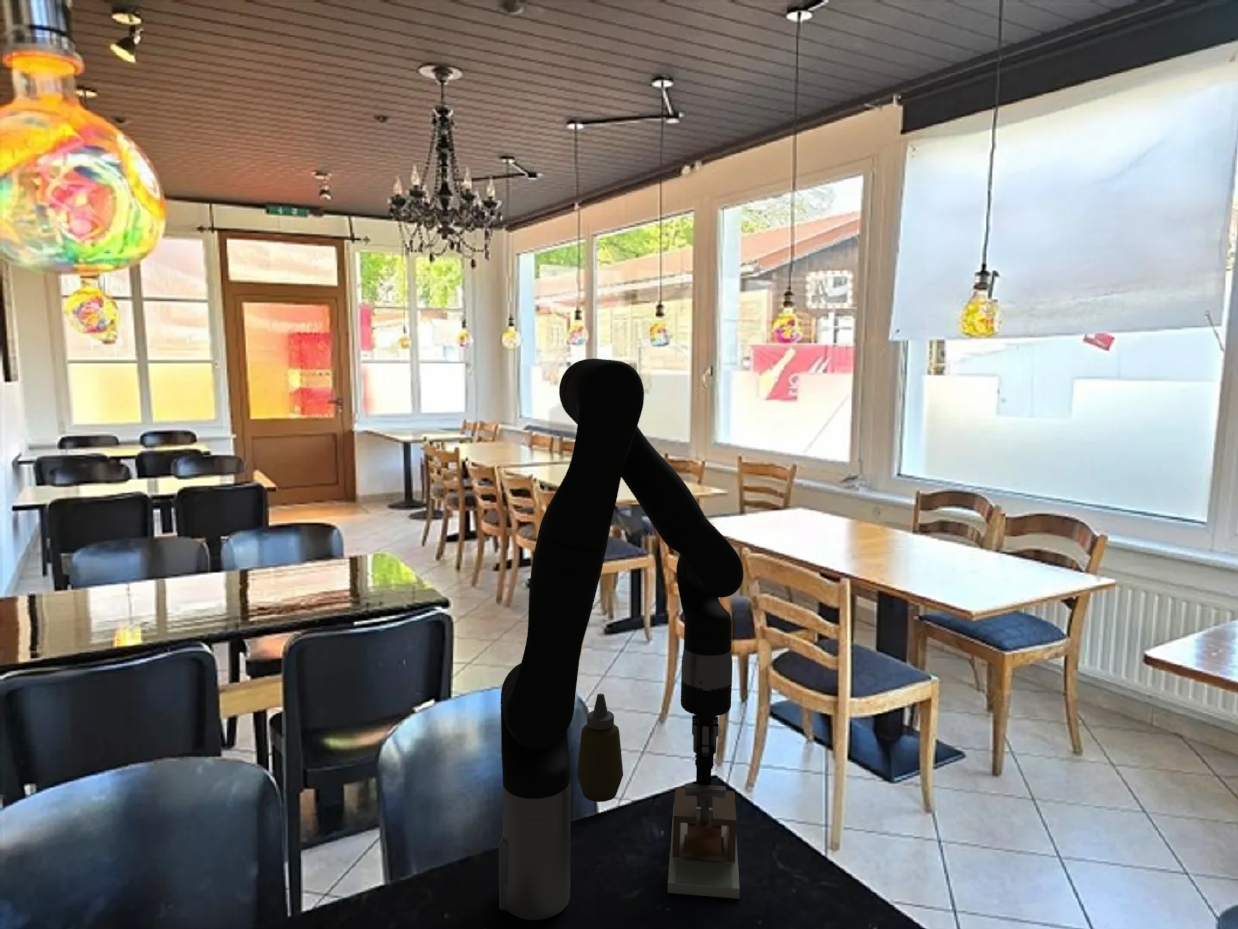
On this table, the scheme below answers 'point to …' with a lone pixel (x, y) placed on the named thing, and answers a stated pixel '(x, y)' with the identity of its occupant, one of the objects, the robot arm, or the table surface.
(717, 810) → the tunnel
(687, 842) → the sled
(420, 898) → the table surface
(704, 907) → the table surface
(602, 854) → the table surface
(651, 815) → the table surface
